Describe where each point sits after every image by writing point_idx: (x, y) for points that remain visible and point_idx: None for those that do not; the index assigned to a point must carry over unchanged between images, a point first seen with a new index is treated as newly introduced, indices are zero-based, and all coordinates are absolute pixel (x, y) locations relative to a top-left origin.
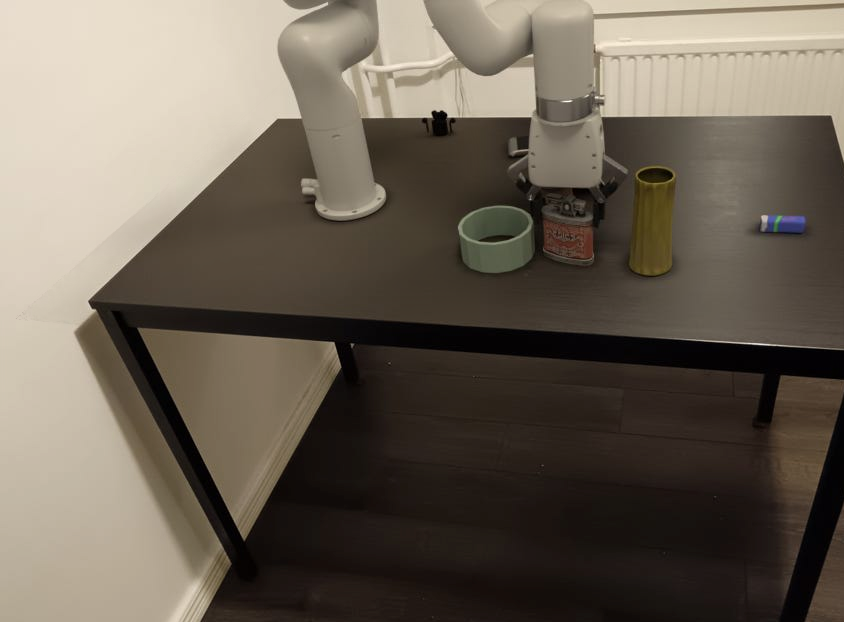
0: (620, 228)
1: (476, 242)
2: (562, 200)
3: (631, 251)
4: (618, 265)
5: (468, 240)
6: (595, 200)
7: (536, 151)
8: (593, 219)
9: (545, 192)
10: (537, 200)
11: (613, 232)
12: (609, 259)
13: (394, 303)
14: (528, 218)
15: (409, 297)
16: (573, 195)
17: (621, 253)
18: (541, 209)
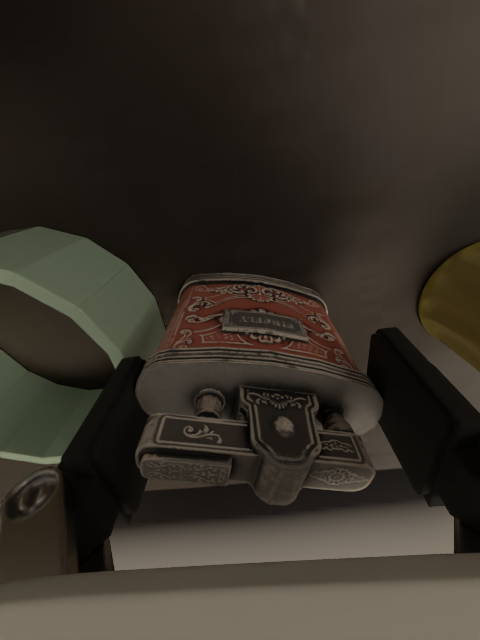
0: (398, 79)
1: (35, 462)
2: (245, 480)
3: (451, 332)
4: (388, 310)
5: (7, 458)
6: (439, 494)
7: None
8: (380, 423)
9: None
10: (125, 512)
11: (370, 124)
12: (364, 291)
13: (17, 480)
14: (87, 332)
15: (25, 468)
16: (301, 469)
17: (398, 255)
18: (139, 406)
